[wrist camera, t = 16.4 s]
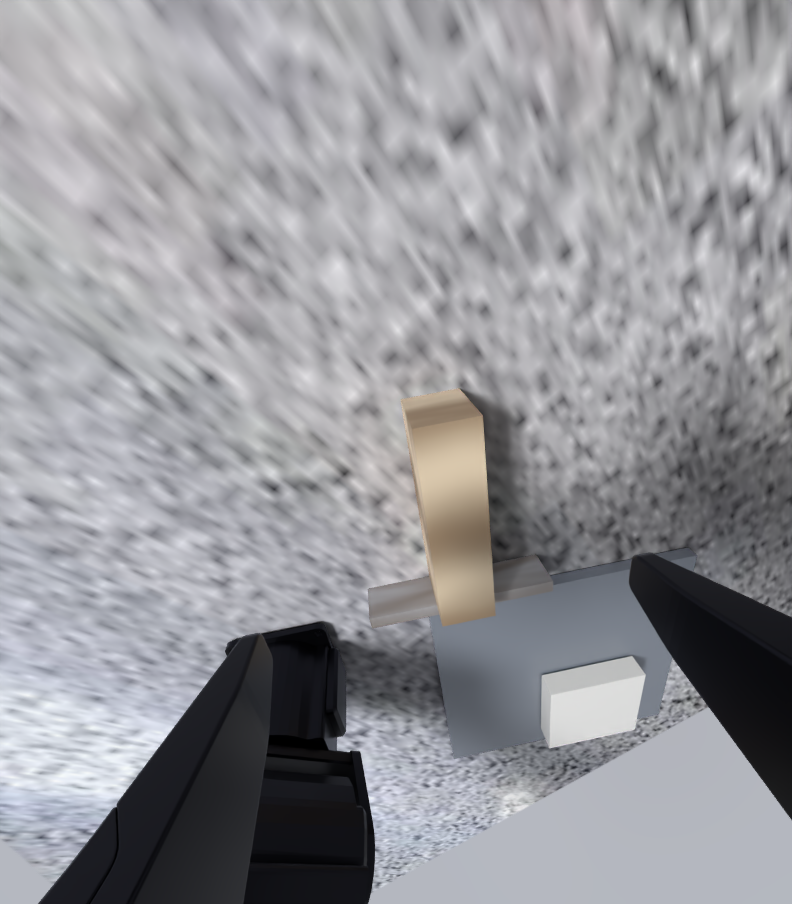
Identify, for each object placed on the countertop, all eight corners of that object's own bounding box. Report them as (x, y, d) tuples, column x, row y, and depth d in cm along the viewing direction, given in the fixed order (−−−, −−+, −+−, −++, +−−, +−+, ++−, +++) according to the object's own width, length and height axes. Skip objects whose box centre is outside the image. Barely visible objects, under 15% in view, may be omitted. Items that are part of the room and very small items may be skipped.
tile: (540, 673, 29) (540, 726, 33) (551, 695, 28) (549, 748, 31) (630, 654, 30) (621, 708, 33) (645, 674, 28) (634, 729, 31)
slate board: (451, 748, 34) (454, 759, 33) (426, 601, 26) (428, 611, 25) (651, 705, 34) (658, 714, 34) (687, 547, 26) (697, 555, 26)
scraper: (322, 413, 20) (316, 447, 16) (535, 372, 20) (576, 397, 16) (370, 596, 25) (373, 650, 22) (535, 562, 26) (565, 611, 22)
